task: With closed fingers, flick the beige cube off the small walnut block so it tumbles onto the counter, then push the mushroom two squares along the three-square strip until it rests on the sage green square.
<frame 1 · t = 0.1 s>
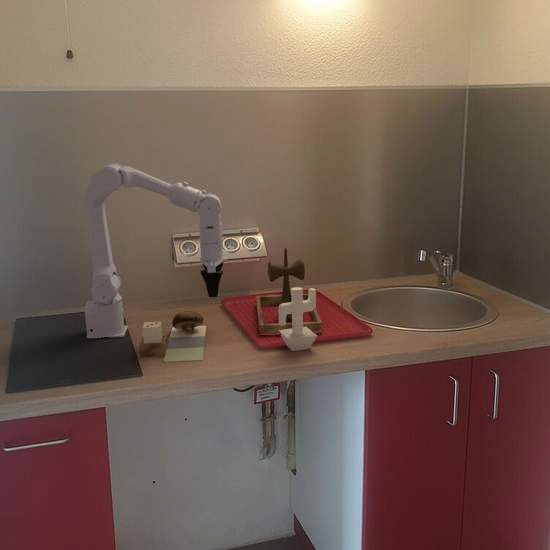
hand: (213, 292, 180), 10 cm above the worktop, fingers open, 7 cm apart
mushroom: (188, 332, 180), resting on board
kendama: (287, 319, 189), resting in brown rectangular frame
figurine: (297, 347, 168), on the worktop
plinth: (154, 351, 167), on the worktop
beige cube: (153, 340, 167), point 3 cm above the worktop, touching plinth
brown rectangular frame: (287, 318, 189), on the worktop
board: (186, 343, 173), on the worktop
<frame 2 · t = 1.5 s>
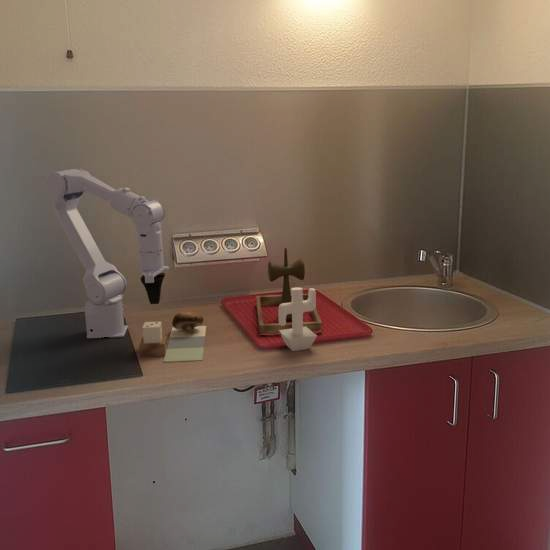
hand: (154, 303, 172), 10 cm above the worktop, fingers closed
nothing on the worktop moved.
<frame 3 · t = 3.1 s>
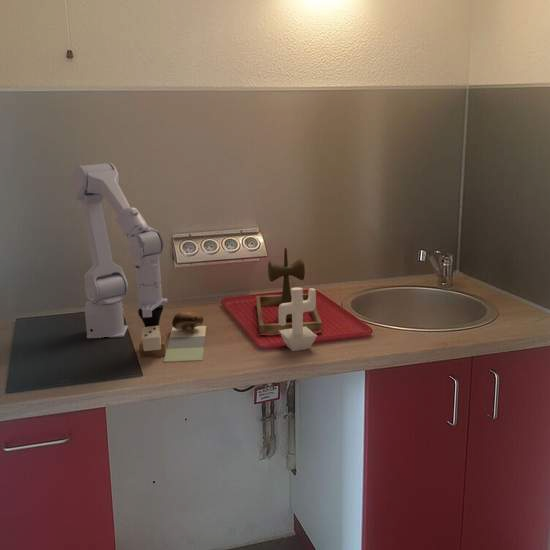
hand: (153, 336, 166), 4 cm above the worktop, fingers closed
beige cube: (152, 344, 164), point 3 cm above the worktop, tilted 23°
everything else where it was.
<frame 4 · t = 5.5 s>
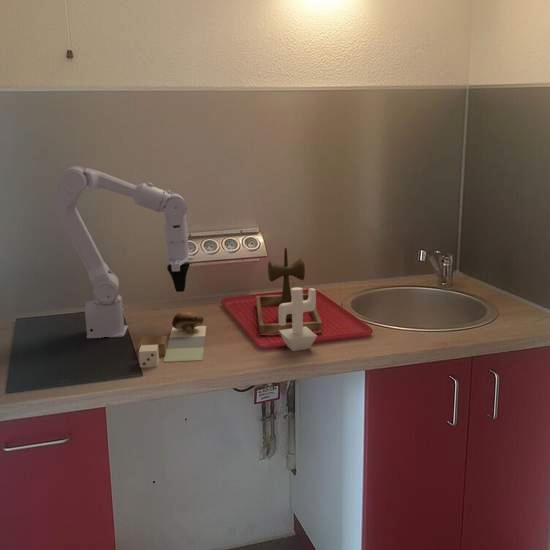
hand: (180, 291, 182), 10 cm above the worktop, fingers closed
beige cube: (150, 352, 162), point 2 cm above the worktop, tilted 90°
everything else where it was.
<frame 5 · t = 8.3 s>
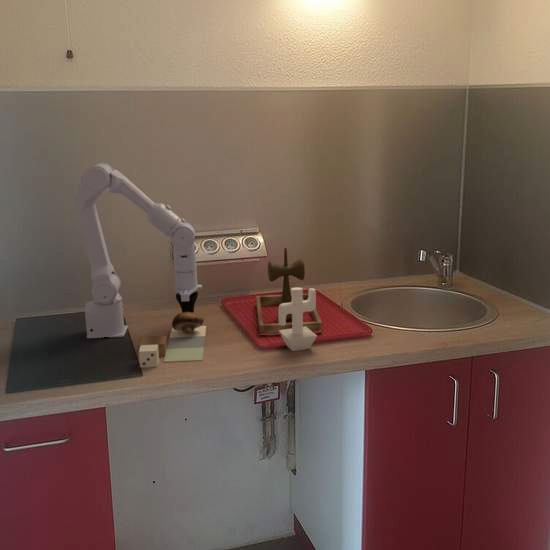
hand: (188, 319, 182), 3 cm above the worktop, fingers closed
mushroom: (188, 333, 179), resting on board, touching gripper
everything else where it was.
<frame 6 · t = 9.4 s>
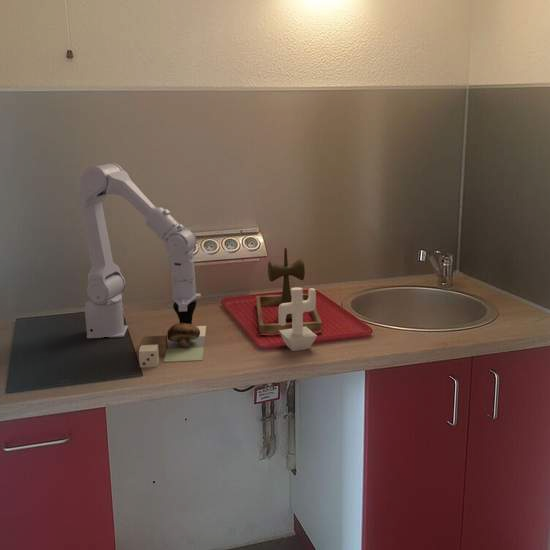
hand: (186, 329, 174), 3 cm above the worktop, fingers closed
mushroom: (184, 345, 171), resting on board, touching gripper
everything else where it was.
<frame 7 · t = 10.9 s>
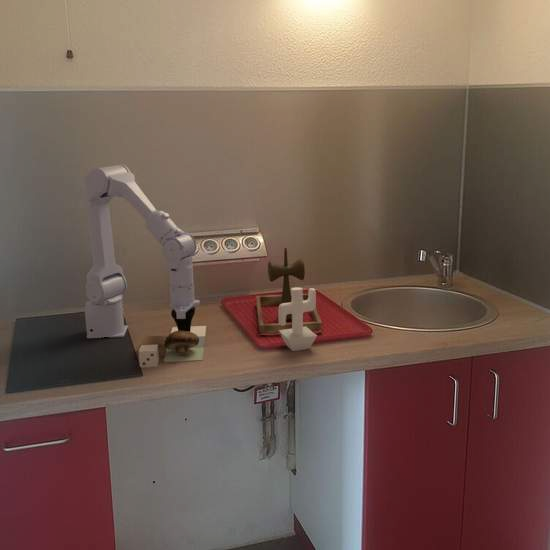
hand: (184, 337, 169), 3 cm above the worktop, fingers closed
mushroom: (182, 353, 166), resting on board, touching gripper
everything else where it was.
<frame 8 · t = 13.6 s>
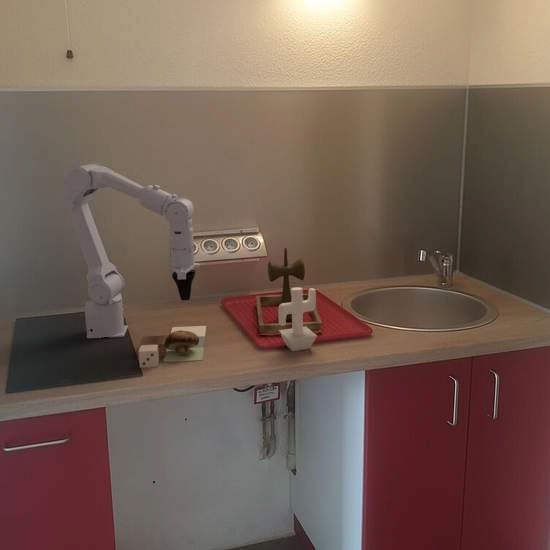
hand: (185, 299, 175), 10 cm above the worktop, fingers closed
mushroom: (182, 353, 166), resting on board
everything else where it was.
at the end: mushroom inside the target area (1.5 cm from its centre), resting on board; beige cube touching worktop; beige cube moved 5.5 cm from its start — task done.
